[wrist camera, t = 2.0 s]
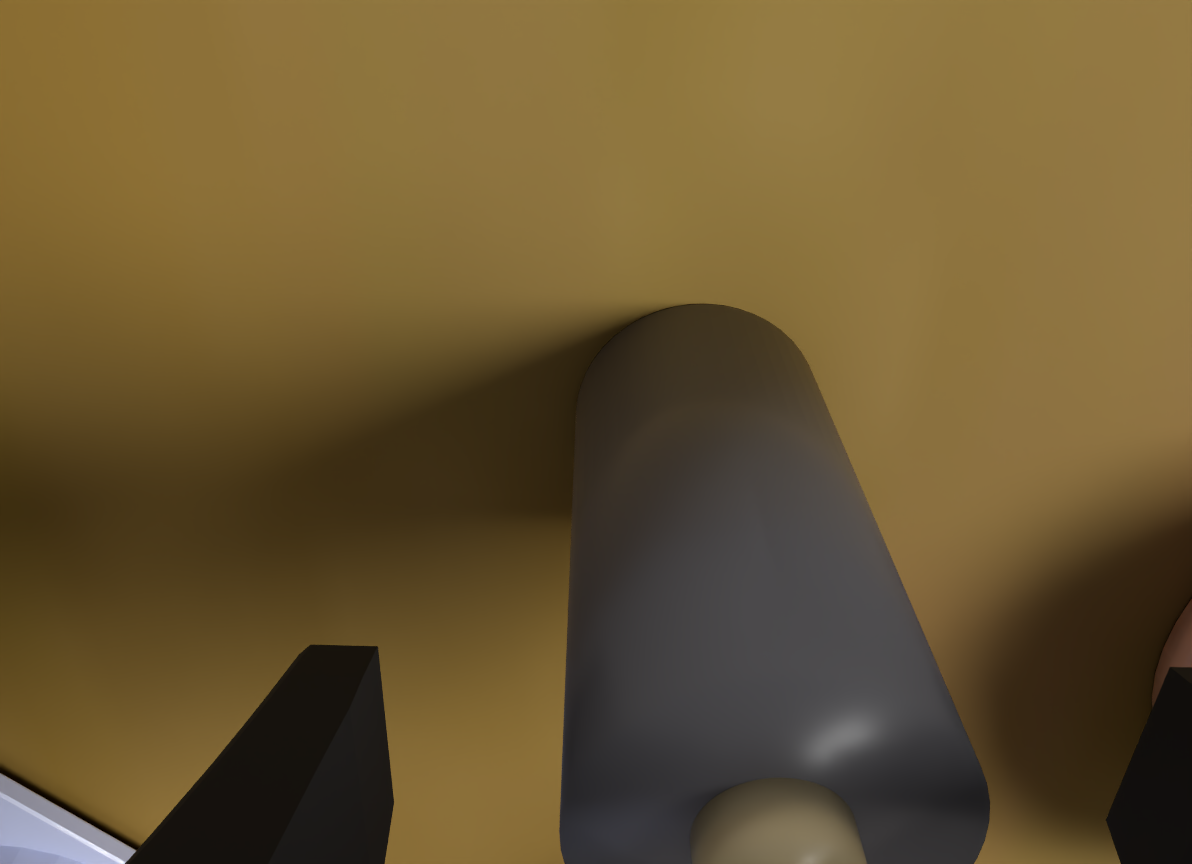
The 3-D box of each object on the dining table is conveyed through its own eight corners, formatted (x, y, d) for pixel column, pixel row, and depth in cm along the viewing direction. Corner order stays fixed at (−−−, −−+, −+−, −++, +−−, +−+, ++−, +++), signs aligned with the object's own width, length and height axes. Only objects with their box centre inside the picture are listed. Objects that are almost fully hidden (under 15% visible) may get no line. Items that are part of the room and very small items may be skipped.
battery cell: (684, 555, 16) (749, 1076, 9) (525, 411, 15) (462, 893, 8) (866, 421, 15) (1104, 907, 8) (711, 253, 14) (831, 655, 7)
